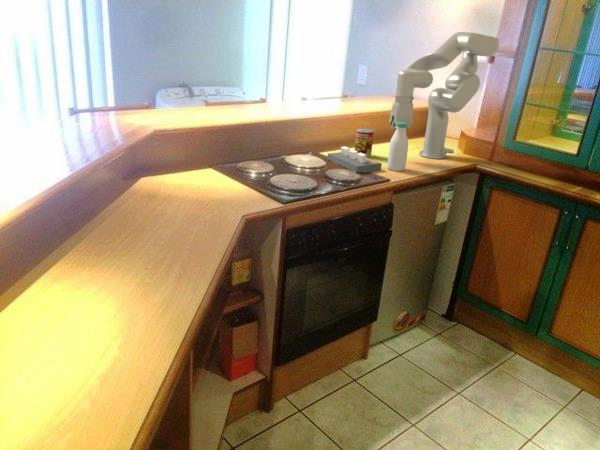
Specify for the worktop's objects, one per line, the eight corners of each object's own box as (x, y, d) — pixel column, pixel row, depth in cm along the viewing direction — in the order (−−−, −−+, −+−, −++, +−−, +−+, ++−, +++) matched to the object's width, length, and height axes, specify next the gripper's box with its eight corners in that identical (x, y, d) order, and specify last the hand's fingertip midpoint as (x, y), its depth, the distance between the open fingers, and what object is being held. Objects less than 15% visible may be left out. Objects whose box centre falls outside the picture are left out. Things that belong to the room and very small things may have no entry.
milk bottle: (404, 172, 206) (411, 125, 199) (386, 170, 208) (392, 123, 200) (405, 167, 213) (411, 121, 206) (387, 166, 215) (392, 120, 207)
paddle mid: (353, 155, 214) (352, 149, 212) (358, 158, 211) (357, 151, 209) (349, 157, 213) (348, 150, 212) (354, 159, 210) (353, 152, 209)
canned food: (350, 155, 229) (353, 129, 225) (360, 152, 235) (363, 127, 230) (364, 158, 224) (367, 132, 220) (374, 156, 230) (377, 130, 225)
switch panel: (350, 157, 225) (351, 150, 224) (380, 170, 208) (381, 163, 207) (327, 160, 219) (327, 153, 218) (356, 173, 202) (356, 165, 200)
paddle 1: (345, 152, 219) (344, 146, 217) (350, 154, 216) (349, 148, 214) (341, 154, 218) (340, 147, 216) (346, 156, 215) (345, 149, 213)
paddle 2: (361, 159, 209) (360, 152, 208) (366, 161, 206) (366, 154, 205) (357, 160, 209) (356, 153, 207) (363, 163, 205) (362, 156, 204)
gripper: (410, 97, 221) (406, 138, 228) (385, 99, 214) (380, 140, 221) (422, 100, 215) (417, 141, 222) (396, 102, 208) (391, 144, 215)
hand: (399, 141), depth 222 cm, fingers closed
